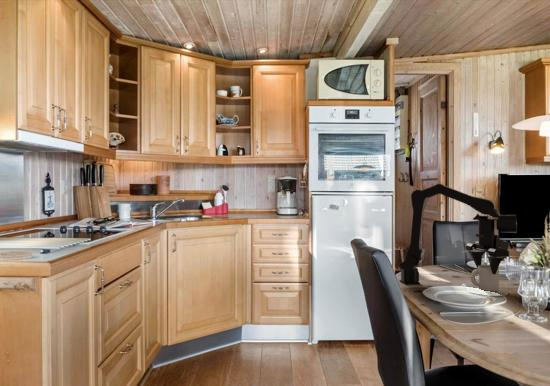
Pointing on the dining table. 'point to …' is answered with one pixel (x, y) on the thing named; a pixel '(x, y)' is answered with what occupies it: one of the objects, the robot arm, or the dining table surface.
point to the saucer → (500, 291)
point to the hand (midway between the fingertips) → (486, 271)
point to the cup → (486, 278)
